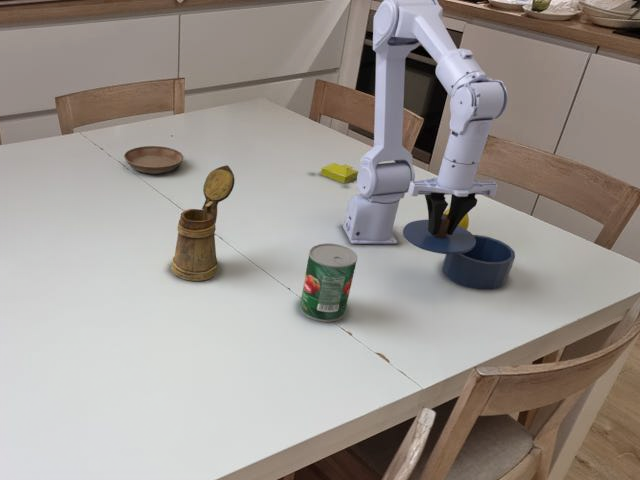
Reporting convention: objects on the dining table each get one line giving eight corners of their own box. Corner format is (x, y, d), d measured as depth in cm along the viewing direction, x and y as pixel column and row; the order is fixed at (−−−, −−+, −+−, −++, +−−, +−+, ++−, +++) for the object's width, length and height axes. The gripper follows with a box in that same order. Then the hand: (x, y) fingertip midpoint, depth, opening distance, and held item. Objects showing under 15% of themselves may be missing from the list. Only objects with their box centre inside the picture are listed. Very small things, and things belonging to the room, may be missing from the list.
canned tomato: (291, 302, 120) (299, 247, 113) (328, 294, 122) (338, 239, 116) (316, 326, 114) (327, 269, 107) (354, 316, 117) (367, 260, 110)
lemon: (464, 250, 137) (475, 213, 132) (435, 247, 137) (446, 210, 133) (460, 237, 141) (471, 202, 136) (432, 234, 142) (442, 199, 137)
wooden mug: (240, 259, 132) (248, 171, 121) (199, 286, 124) (204, 194, 113) (203, 245, 137) (208, 158, 126) (161, 270, 128) (163, 180, 117)
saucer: (147, 151, 178) (147, 141, 176) (194, 164, 171) (194, 153, 169) (112, 168, 168) (111, 157, 166) (160, 182, 161) (160, 171, 160)
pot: (455, 290, 124) (464, 263, 121) (433, 259, 133) (440, 234, 130) (515, 289, 125) (526, 263, 121) (489, 259, 134) (498, 234, 130)
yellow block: (312, 174, 167) (313, 163, 165) (334, 165, 172) (336, 154, 170) (345, 186, 161) (347, 175, 159) (367, 177, 166) (369, 165, 164)
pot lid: (415, 257, 116) (422, 232, 113) (392, 225, 125) (398, 201, 123) (486, 257, 116) (494, 232, 113) (457, 224, 126) (465, 201, 123)
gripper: (427, 167, 108) (407, 243, 116) (515, 167, 109) (489, 242, 117) (412, 151, 114) (394, 224, 122) (496, 151, 114) (472, 224, 123)
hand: (439, 232), depth 120 cm, fingers closed on pot lid, 2 cm apart
